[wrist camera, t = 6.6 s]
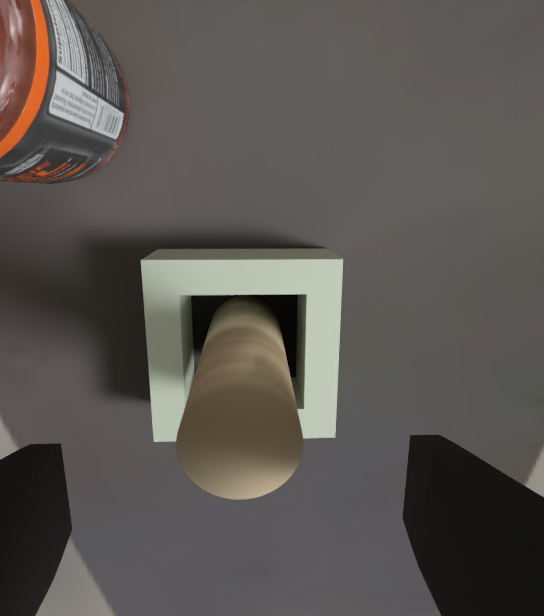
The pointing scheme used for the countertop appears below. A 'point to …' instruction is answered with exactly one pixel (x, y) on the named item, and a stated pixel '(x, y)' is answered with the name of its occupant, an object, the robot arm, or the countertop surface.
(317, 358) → the hole block
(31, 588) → the robot arm
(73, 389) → the countertop surface
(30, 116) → the supplement bottle
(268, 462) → the beech peg
